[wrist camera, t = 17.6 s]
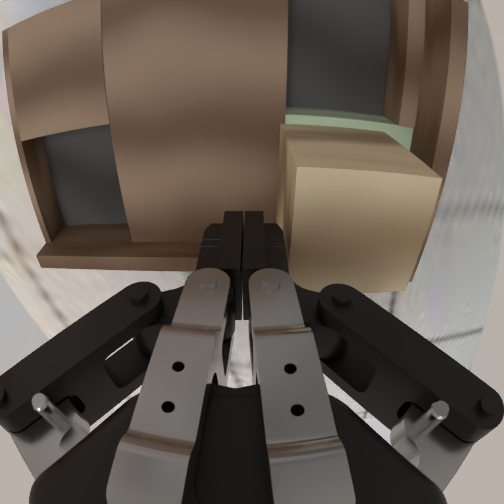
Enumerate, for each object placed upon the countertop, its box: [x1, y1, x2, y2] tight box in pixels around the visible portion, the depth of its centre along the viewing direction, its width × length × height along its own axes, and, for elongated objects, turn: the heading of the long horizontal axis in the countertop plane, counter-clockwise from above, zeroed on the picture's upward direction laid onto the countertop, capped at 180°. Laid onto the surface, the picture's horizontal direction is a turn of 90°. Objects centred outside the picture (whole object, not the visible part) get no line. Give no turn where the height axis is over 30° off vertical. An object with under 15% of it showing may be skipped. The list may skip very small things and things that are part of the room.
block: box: [276, 124, 442, 293], centre depth 14 cm, size 6×6×6 cm
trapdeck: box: [2, 0, 468, 282], centre depth 14 cm, size 16×24×5 cm, turn 90°
